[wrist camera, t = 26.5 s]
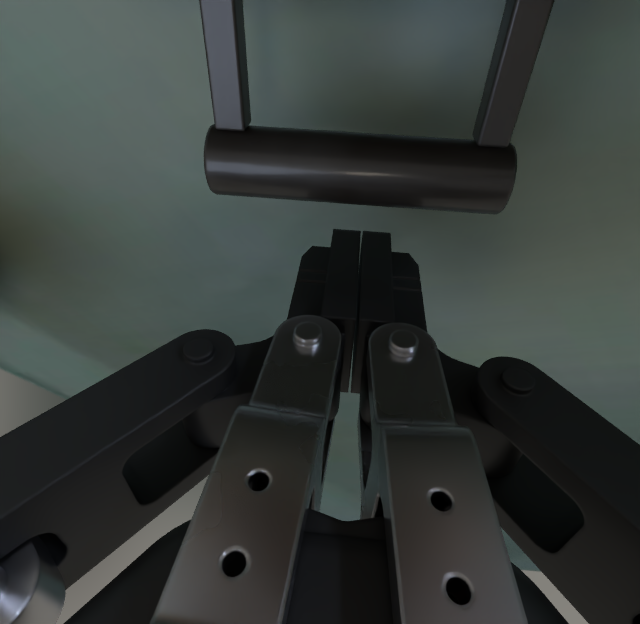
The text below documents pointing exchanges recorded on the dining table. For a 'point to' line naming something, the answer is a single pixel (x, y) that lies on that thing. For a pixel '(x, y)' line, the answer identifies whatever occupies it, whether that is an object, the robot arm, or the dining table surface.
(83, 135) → the dining table surface
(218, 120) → the drawer
